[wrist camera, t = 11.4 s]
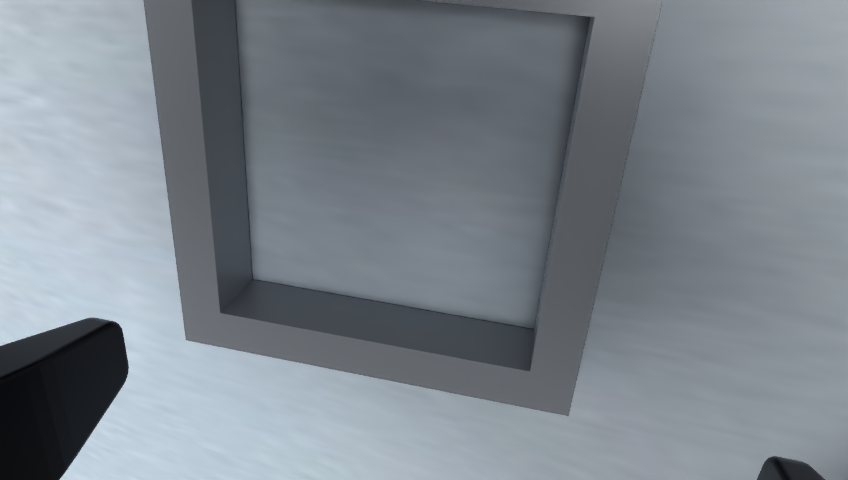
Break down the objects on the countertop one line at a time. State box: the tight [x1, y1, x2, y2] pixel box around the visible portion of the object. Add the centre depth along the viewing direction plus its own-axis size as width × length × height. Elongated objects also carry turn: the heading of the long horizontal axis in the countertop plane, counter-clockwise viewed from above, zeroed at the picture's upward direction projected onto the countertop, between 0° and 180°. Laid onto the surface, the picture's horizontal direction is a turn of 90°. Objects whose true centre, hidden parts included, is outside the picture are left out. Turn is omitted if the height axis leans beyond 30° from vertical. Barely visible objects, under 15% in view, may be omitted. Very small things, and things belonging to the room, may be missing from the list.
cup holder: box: [144, 0, 662, 416], centre depth 20 cm, size 14×14×2 cm
